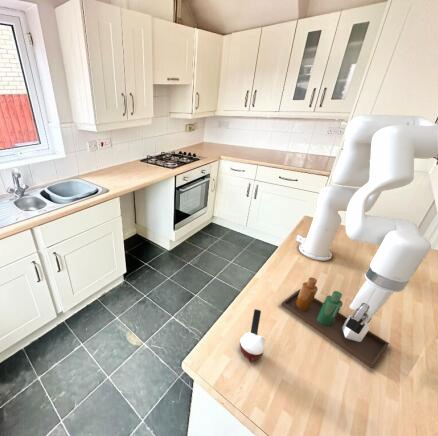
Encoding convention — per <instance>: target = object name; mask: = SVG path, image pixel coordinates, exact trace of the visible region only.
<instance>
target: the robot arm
mask: <svg viewBox="0 0 438 436" xmlns="http://www.w3.org/2000/svg"><path fill="white" fill-rule="evenodd" d="M437 156H438V123H436V122H434V121H432V120H431V119H428V118H425V117H423V116H420V115H405V114H403V115H402V114H401V115H397V114H396V115H395V114H394V115H393V114H363V115H358V116H355V117H354V118H352V119H351V120H350V121H349V122H348V124H347V126H346V127H345V131H344V145H343V148H342V150H341V153H340V156H339V158H338V161H337V163H336V166H335V168H334V170H333V172H332V176H331V179H332V182H333V183H334V184H336V185H328V186H325V187H323V188H322V189H321V190H320V191H319V194H318V200H317V205H316V209H315V213H314V216H313V219H312V221H311V225H310V227H309V230H308V233H307V236H306V237H303V236H302V235H300V234H298V235H297V236H296V237H295V238H296V242H298V243H300V244H299V246H298V251H300V253H301V254H302V255H304V256H305V257H307V258H309V259H313V260H316V261H320V262H321V261H323V262H324V261H329V260H330V259H332V257H333V253H332V251H331V248H332V245H333V243H334V241H335V239H336V237H337V234H338V232H339V229H340V227H341V225H342V217H341V215H340V214H339V212H346V214H345V215H346V216H345V233H346V236H347V237H348V239H349V240H351V241H353V242H356V243H361V244H368V245H375V246H379V247H378V249H377V251H376V253H375V254H374V256H373V258H372V260H371V261H370V263H369V265H368V267H367V269H366V271H365V273H364V278H365V279H366V280H365V282H364V283H363V284H362V285H361V287H360V289H359V291H358V292H357V293H356V295H355V297H354V298H353V300H352V301H351V303H350V304H349V306H348V307H349V309H350V310H352V311H354V312H353V314H351V315H352V316H351V317H350V319H349V321H348V322H347V324H346V327H347V328H349V329H351V330H352V331H354V332H355V333H357V334H359V333H360V332H361V330H362V329H363V327H364V326H365V324H364V323H365V321H366V320H367V319H370V320H369V322H367V323H368V324H370V322H371V320H372V318H373V317H374V316H375V315H376V314H377V313H378V312H380V310H381V309H382V308H383V307H384V305H386V304H387V302H388V300H389V299H390V298H391V296H392V295H393V293H401V292H403V291H404V289H405V288H406V287H407V285H408V283H409V282H410V281H411V279H412V277H413V276H414V274H416V273H417V270H418V269H419V267H420V266H421V264H422V263H423V261H424V260H425V259H426V257H427V255H428V254H429V253H430V250H431V249H432V244H431V242H430V241H429V240H428V238H426V237H425V236H423V235H422V233H421V231H420V229H419V227H418V225H417V224H416V223H415V222H414V221H411V220H408V219H402V218H394V217H388V216H380V215H379V216H378V215H371V214H366V213H367V212H369V211H370V210H371V209H373V207H374V206H375V204H376V203H377V201H378V199H379V198H380V196H381V194H382V192H385V191H386V192H387V191H390V190H394V189H395V190H396V189H399V188H403V187H405V186H408V185H410V184H411V183H413V181H414V178H415V159H421V160H423V159H424V160H427V159H428V160H429V159H432V158H435V157H437ZM365 312H367V314H366V313H365ZM362 316H364V319H361V318H362Z"/></svg>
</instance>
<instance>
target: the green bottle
mask: <svg viewBox="0 0 438 436" xmlns="http://www.w3.org/2000/svg"><path fill="white" fill-rule="evenodd" d="M342 297H343V293H342V292H340V291H338V290H334V291H333V292H332V293H331V295H327V296H325V299H324V300H323V302H322V303H323V305H322V307H321V309H320V311H319V313H318V315H317V320H318V322H319V323H321V324H322V325H324V326H331V325H332V324H333V322H334V320H335V318H336V316H337V314H338V313H340V311H341V309H342V307H343V305H344V303H343V301H342V300H341V299H342Z"/></svg>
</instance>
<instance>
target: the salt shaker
mask: <svg viewBox="0 0 438 436" xmlns="http://www.w3.org/2000/svg"><path fill="white" fill-rule="evenodd" d="M365 313H366V314H367V312H365ZM352 315H353V314H349V315H348V316H347V320H346V322H345V323H344V325H343V327H342V330H343V332H344V335H345V337H346V338H347V339H351V340H354V341H358V342H361V341H362V339H363V338H364V336H365V335H366V333H367V332H368V331H370V326H369V323H370V322H369V320H370V319H367V320H366V321H365V323H364V324H365V326H364V327H363V329H362V330H361V332H360V333H359V334H357V333H355V332H354V331H352V330H351V329H349V328H347V327H346V324H347V322H348V321H349V319H350V317H351V316H352ZM361 319H364V316H362V318H361ZM370 321H371V320H370ZM367 322H369V323H367Z"/></svg>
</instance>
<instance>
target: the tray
mask: <svg viewBox="0 0 438 436" xmlns="http://www.w3.org/2000/svg"><path fill="white" fill-rule="evenodd" d="M300 290H301V288H299V289H298V290H297V291H295V292H294V293H293V294H291V295H290V296H288V297H287V298H286V299H285V300H283V301H282V302H281V305H280V306H281V307H282V308H283V309H285V310H287V311H288V312H290V313H291V314H292V315H293V316H295V317H297V318H298V319H299V320H301V321H302V322H304V323H305V324H306V325H308V326H309V327H311V328H313V330H314V331H317V332H318V333H320V334H321V335H323V336H324V337H325V338H326V339H327V340H330V341H331V342H332V343H334V344H335V345H336V346H338V347H339V348H341V349H343V350H344V351H345V352H347V353H348V354H350V355H351V356H352V357H354V358H355V359H356V360H358V361H359V362H361V363H363V364H364V365H365V366H367V367H368V368H370V369H372V368H373V367H374V365H375V364H376V362H377V361H378V360H379V359H380V357H381V356H382V354H383V353H384V351H385V350H386V349H387V347H388V346H389V345H390V342H388V341H387V340H385V339H384V338H381V337H380V336H378V335H376V334H375V333H373V332H372V331H370V330H368V332H367V333H366V335H365V336H364V338H363V339H362V341H361V342H358V341H354V340H351V339H347V338H346V337H345V335H344V332H343V330H342V327H343V325H344V323H345V322H346V320H347V318H348V316H345V315H344V314H343V313H340V312H339V313H338V314H337V316H336V318H335V320H334V322H333V324H332V325H331V326H324V325H322V324H321V323H319V322H318V320H317V315H318V313H319V311H320V309H321V307H322V305H323V303H324V302H322V301H320V300H319V299H317V298H316V297H314V299H313V302H312V304H311V306H310V308H309V310H308V311H302V310H300V309H298V308H297V307H296V305H295V302H296V300H297V297H298V295H299V292H300Z"/></svg>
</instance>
